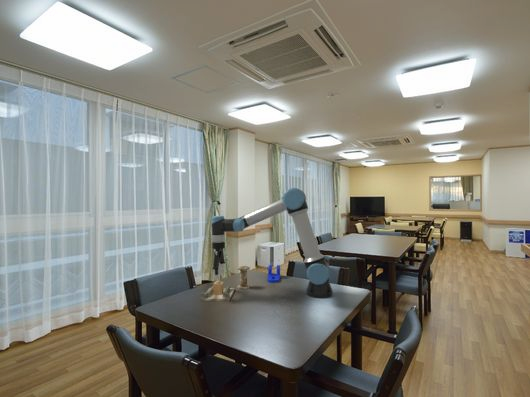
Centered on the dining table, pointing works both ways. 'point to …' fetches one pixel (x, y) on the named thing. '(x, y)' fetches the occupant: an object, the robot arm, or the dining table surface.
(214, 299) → the board
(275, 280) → the bracket
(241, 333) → the dining table surface
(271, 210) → the robot arm
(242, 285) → the bobbin
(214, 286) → the tab
